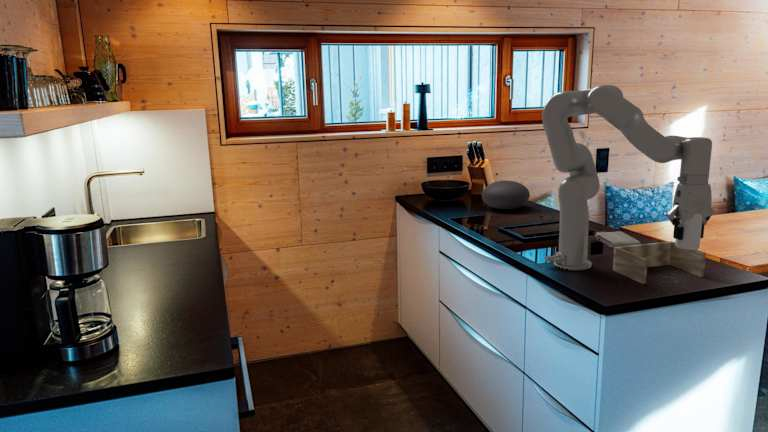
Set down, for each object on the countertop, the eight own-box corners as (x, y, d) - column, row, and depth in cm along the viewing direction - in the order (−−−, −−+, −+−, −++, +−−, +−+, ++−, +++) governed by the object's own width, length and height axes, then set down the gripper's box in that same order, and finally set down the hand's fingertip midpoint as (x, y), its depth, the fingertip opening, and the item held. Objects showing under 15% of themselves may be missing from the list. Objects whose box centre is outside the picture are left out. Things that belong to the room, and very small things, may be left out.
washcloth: (620, 236, 232) (620, 229, 231) (642, 248, 214) (643, 240, 214) (592, 237, 231) (592, 230, 230) (612, 249, 214) (613, 241, 213)
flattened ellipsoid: (473, 211, 289) (473, 183, 286) (493, 202, 309) (493, 176, 306) (518, 215, 275) (519, 185, 272) (536, 206, 295) (537, 178, 292)
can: (702, 251, 165) (706, 211, 162) (678, 250, 166) (682, 211, 164) (695, 245, 171) (699, 207, 168) (672, 244, 172) (675, 206, 170)
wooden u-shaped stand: (642, 284, 173) (644, 259, 172) (612, 269, 188) (613, 247, 186) (703, 276, 178) (705, 252, 176) (670, 263, 193) (671, 241, 191)
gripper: (677, 183, 159) (672, 243, 163) (728, 179, 162) (722, 238, 166) (659, 179, 166) (654, 237, 170) (708, 176, 170) (702, 232, 173)
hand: (688, 237), depth 168 cm, fingers closed on can, 6 cm apart
